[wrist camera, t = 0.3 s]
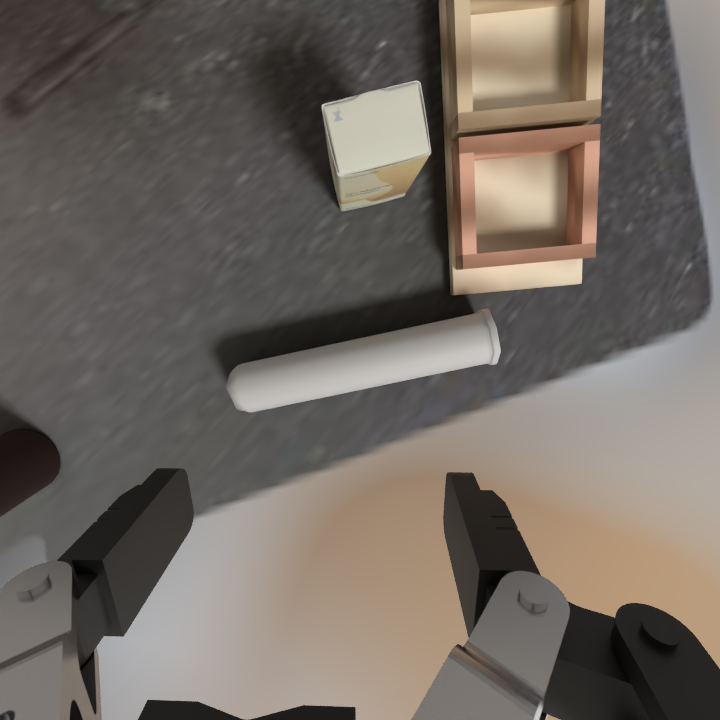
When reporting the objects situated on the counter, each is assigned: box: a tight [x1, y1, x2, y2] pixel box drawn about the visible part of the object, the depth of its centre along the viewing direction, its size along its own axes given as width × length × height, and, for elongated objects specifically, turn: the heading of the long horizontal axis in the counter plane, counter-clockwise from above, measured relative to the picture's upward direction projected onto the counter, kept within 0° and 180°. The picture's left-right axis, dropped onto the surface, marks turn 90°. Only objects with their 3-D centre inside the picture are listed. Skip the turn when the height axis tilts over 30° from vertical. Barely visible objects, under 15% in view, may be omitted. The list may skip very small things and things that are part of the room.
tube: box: [226, 309, 501, 412], centre depth 36 cm, size 5×5×25 cm
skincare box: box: [322, 81, 431, 211], centre depth 29 cm, size 6×4×12 cm
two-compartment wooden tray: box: [439, 0, 605, 295], centre depth 33 cm, size 26×12×4 cm, turn 5°
